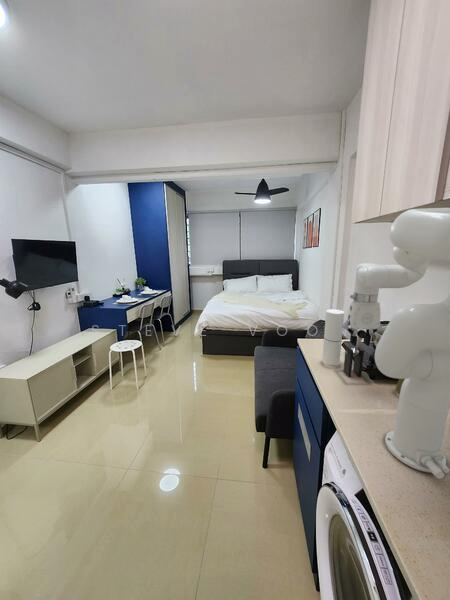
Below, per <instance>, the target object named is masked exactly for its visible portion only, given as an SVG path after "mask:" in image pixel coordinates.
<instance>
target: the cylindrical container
mask: <svg viewBox="0 0 450 600" xmlns="http://www.w3.org/2000/svg"><path fill="white" fill-rule="evenodd" d="M344 322H345V311H344V310H341V309H337V308H336V309H335V308H330V309H326V310H325V322H324V334H323V345H322V346H323V347H322V359H321V361H322V363H323V364H325V365H328V366H332V367H333V366H339V365H340V361H341V352H342V351H341V350H342V342H343V340H342V339H343V332H344V328H343V327H342V326H343V324H344Z"/></svg>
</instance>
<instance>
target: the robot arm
mask: <svg viewBox="0 0 450 600" xmlns="http://www.w3.org/2000/svg"><path fill="white" fill-rule="evenodd" d="M389 239H390V242H391V244H392V245H393V249H392V257H393V259H394V261H395V262H396V264H379V263H369V262H365V263H359V264H358V265H357V267H356V271H355V272H356V273H355V283H354V291H353V294H350V295H349V299H352V300H351V301H350V304H349V308H348V312H347V318H346V320H345V321H344V322H343V326H342V327H343V330H346V331H347V332H348V333H349V334H350V336H349V343H350V344H351V345H352V346H353V347H354V346H356V345H357V339H358V336H357V332H358V331H359V330H365V332H366V333H367V335H366V337H365V338H363V341H362V343H363V344H364V345H366V346H367V347H370V346H371V345H370V344H371V342H372V337H373V336H374V334H375V333H376V332H377V331H379V330H380V329H382V328H383V326H382V324H381V303H380V302H379V301H378V300H379V299H378V298H379V291H380V289H403V288H407V287H409V286H411V285H413V284H415V283H416V282H418V281H420V280H421V279H422V278H424V277H425V274H426V273H427V269H428V266H429V265H428V263H430V262H432V261H437V262H450V207H429V208H427V207H426V208H425V207H424V208H411V209H408V210H406V211H404V212H402V213H401V214H399V215H398V216H397V217H396V218H395V219H394V221H393V222H392V224H391V225H390V229H389ZM349 326H350V327H349ZM374 362H375V365H376V368H377V369H378V371H380V373H382V374H383V375H384V376H386V377H388V378H392V379H399V378H400V379H405V380H404V381H403V384H402V386H401V391H400V394H399V397H398V403H397V408H396V415H395V421H394V427H393V430H390V431H388V432H387V433H386V435H385V439H384V442H385V446H386V448H387V450H388V451H389V452H390V453H391V455H392V456H394V457H395V458H396V459H397V460H399V461H400V462H401V463H403V464H405V465H406V466H408V467H410V468H412V469H415V470H417V471H421V472H425V473H431V474H432V475H433V476H434V477H435V478H436V479H437V480H441V479H443V478H444V477H445V474H448V473H450V468H449V467H448V466H447V458H446V456H445V454H444V452H443V451H442V450H441V447H442V442H443V438H444V432H445V428H446V424H447V419H448V415H449V411H450V293H449V294H448V296H447V297H446V298H445V299H444V300H442V301H440V302H437V303H415V304H408V305H405V306H402V307H401V308H399V309H398V310H396V312H395V313H394V314H393V315H392V317H391V318H390V320H389V322H388V324H387V325H386V328H385V329H384V331H383V333H382V335H381V336H380V338H379V340H378V342H377V344H376V347H375V352H374Z"/></svg>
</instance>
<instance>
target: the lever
mask: <svg viewBox="0 0 450 600" xmlns="http://www.w3.org/2000/svg"><path fill="white" fill-rule="evenodd" d="M366 335H367V333H366V330H365V329H358V331H357V334H356V336H357V345H356V346H354V345H353V347H350V348H351V349H352V350H353V351H354V352H353V358H355V357H358V354H359V351H358V348H359V347H360V345H361V343H362V342H363V341H362V340H363V339H364V338H365V337H366Z"/></svg>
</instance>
